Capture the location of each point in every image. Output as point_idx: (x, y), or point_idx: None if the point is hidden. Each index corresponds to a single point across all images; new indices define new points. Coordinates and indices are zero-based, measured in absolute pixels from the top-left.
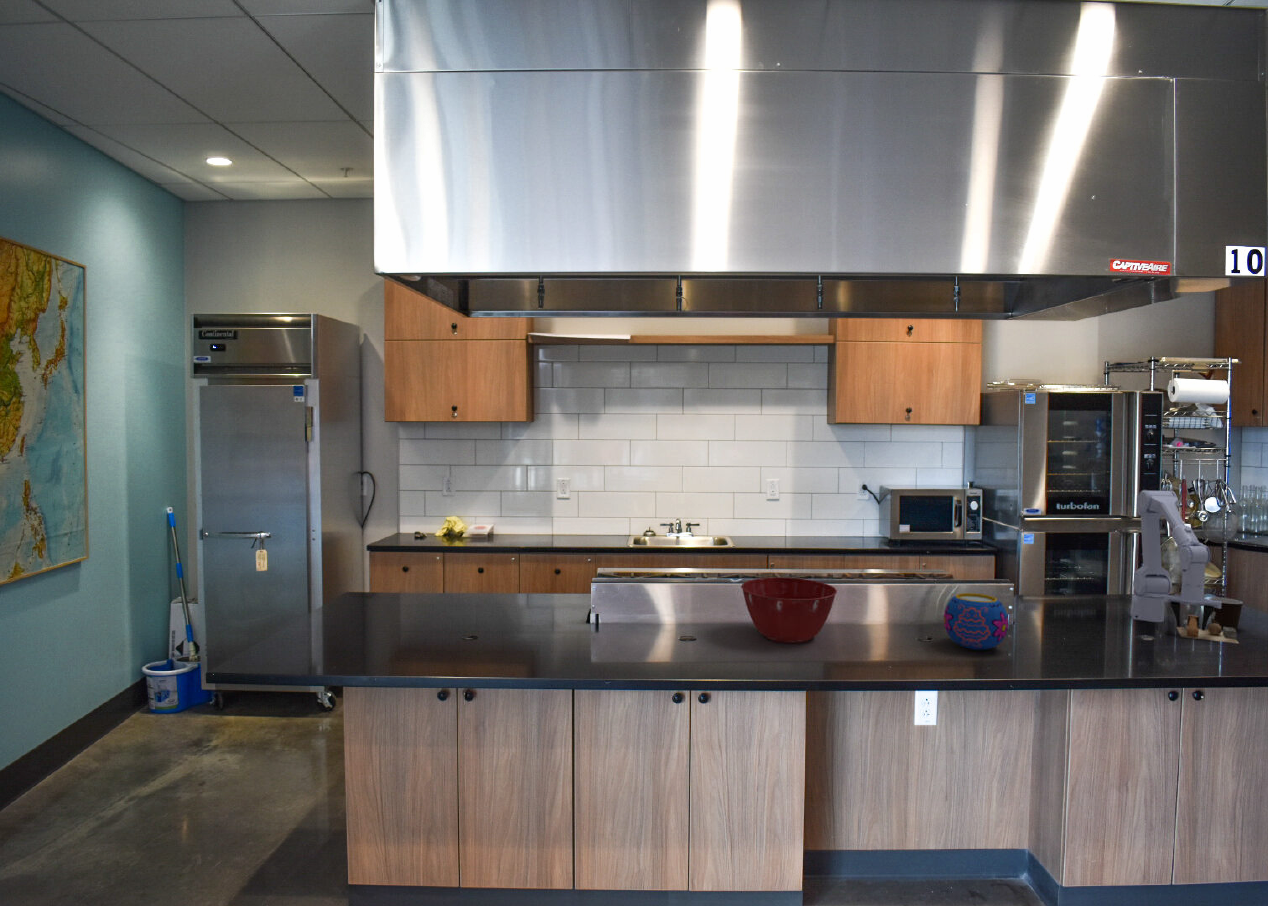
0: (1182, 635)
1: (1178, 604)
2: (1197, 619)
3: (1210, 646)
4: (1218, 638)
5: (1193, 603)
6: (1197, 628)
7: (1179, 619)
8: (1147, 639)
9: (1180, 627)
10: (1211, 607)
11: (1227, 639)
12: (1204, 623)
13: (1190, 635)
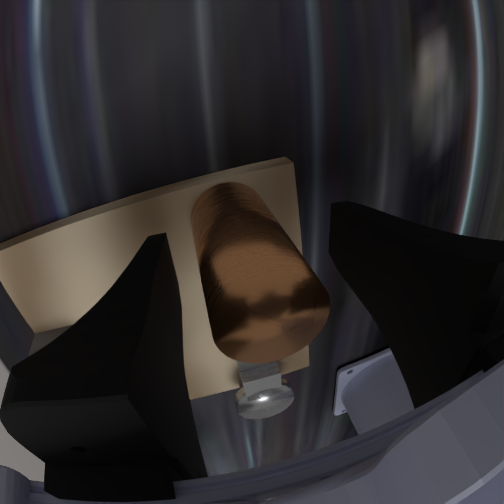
0: (285, 201)
1: (494, 337)
2: (220, 284)
3: (97, 109)
4: (91, 291)
5: (348, 465)
6: (202, 231)
7: (378, 221)
8: (433, 47)
9: (293, 365)
10: (71, 475)
11: (55, 304)
12: (143, 263)
13: (239, 184)
